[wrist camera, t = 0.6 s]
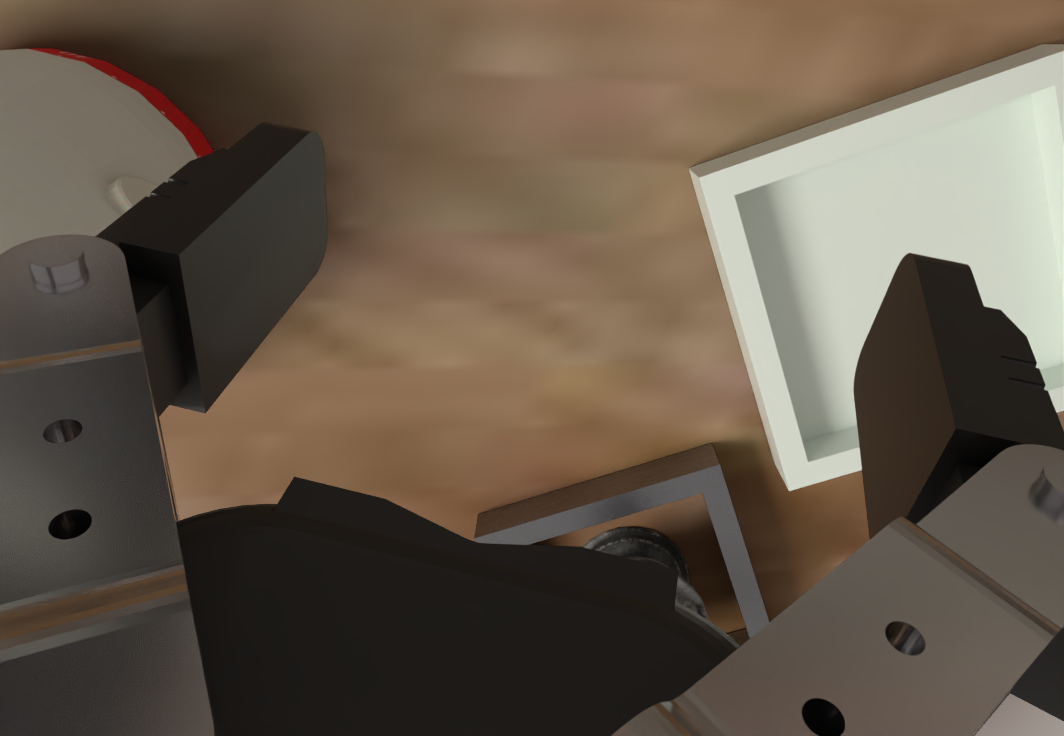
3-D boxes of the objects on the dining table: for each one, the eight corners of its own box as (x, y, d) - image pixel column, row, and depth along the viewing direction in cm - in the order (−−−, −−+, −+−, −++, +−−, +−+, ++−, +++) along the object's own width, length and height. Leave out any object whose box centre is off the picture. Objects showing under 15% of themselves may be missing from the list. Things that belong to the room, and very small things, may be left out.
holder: (478, 514, 38) (474, 538, 36) (711, 443, 37) (719, 464, 35) (556, 698, 42) (556, 729, 40) (773, 639, 40) (783, 668, 38)
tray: (688, 168, 33) (698, 177, 31) (1042, 44, 31) (1081, 44, 29) (774, 463, 37) (789, 491, 35) (1090, 368, 35) (1128, 391, 33)
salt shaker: (721, 562, 39) (790, 774, 28) (644, 653, 41) (679, 886, 29) (613, 497, 38) (638, 689, 27) (538, 593, 40) (532, 810, 28)
